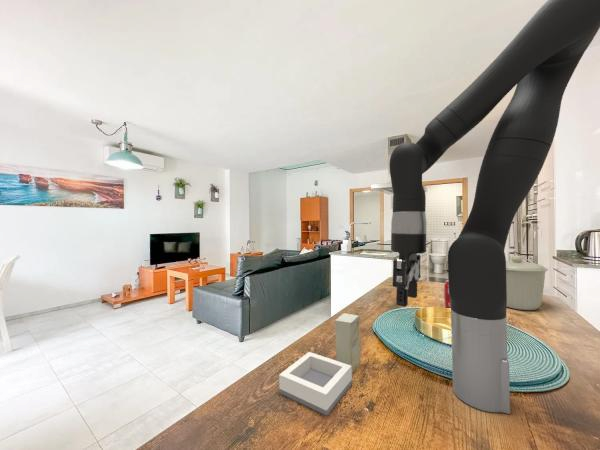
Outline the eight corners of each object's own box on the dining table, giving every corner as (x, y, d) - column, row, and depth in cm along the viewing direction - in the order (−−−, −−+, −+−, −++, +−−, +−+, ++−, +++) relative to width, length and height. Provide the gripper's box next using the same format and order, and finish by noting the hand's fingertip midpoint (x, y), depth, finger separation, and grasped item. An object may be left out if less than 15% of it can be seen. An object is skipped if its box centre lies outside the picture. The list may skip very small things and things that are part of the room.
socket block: (352, 383, 56) (351, 365, 56) (326, 416, 47) (326, 394, 47) (309, 367, 63) (308, 351, 63) (279, 393, 54) (279, 374, 54)
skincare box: (352, 374, 60) (351, 323, 60) (335, 369, 62) (333, 320, 62) (361, 361, 65) (359, 315, 65) (344, 357, 67) (343, 312, 67)
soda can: (469, 313, 97) (468, 282, 97) (451, 314, 97) (450, 283, 97) (458, 307, 104) (457, 278, 104) (441, 308, 104) (440, 279, 104)
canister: (486, 306, 104) (484, 256, 104) (495, 297, 116) (493, 252, 116) (547, 317, 91) (545, 259, 91) (550, 306, 103) (548, 254, 103)
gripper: (418, 233, 50) (417, 313, 51) (432, 231, 62) (431, 297, 62) (381, 231, 55) (380, 305, 55) (400, 230, 66) (399, 291, 66)
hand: (407, 301), depth 59 cm, fingers open, 8 cm apart
